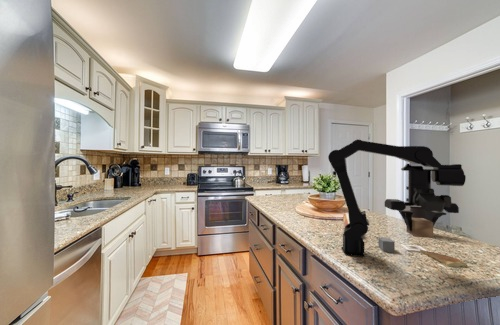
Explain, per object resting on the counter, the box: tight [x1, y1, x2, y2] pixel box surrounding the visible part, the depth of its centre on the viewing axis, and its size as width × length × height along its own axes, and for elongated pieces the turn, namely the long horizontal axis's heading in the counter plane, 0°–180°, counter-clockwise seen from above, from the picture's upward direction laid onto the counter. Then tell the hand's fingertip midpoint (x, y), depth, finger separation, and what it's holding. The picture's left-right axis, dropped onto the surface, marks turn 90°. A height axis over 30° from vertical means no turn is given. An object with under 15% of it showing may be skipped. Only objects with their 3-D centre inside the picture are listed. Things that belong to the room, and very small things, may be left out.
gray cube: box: [377, 237, 396, 253], centre depth 79 cm, size 4×4×4 cm
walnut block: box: [406, 218, 434, 239], centre depth 67 cm, size 5×5×5 cm
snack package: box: [342, 212, 350, 228], centre depth 103 cm, size 21×7×7 cm, turn 158°
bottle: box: [410, 208, 425, 219], centre depth 99 cm, size 7×7×20 cm
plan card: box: [399, 243, 428, 253], centre depth 80 cm, size 7×5×1 cm
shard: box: [420, 250, 467, 268], centre depth 72 cm, size 11×8×2 cm
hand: (419, 231), depth 67 cm, fingers closed on walnut block, 5 cm apart
